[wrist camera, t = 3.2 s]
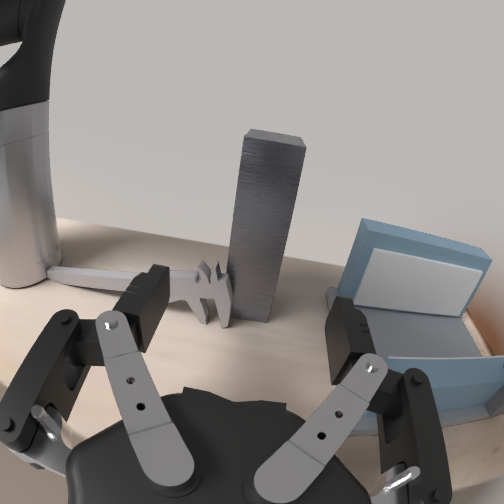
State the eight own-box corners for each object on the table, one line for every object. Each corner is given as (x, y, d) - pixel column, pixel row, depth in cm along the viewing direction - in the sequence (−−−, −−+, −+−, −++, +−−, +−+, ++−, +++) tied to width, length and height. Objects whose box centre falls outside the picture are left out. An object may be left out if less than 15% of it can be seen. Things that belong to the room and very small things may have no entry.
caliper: (229, 322, 25) (237, 263, 22) (227, 331, 24) (234, 271, 21) (47, 273, 26) (34, 221, 22) (41, 279, 25) (27, 226, 21)
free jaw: (366, 435, 15) (444, 345, 11) (358, 383, 19) (414, 287, 14) (507, 412, 15) (568, 341, 10) (492, 377, 19) (544, 306, 14)
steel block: (221, 315, 25) (244, 136, 18) (230, 282, 29) (251, 128, 22) (266, 322, 25) (306, 147, 18) (269, 288, 29) (300, 137, 22)
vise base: (345, 435, 16) (415, 352, 12) (325, 294, 30) (351, 215, 25) (498, 414, 16) (559, 346, 11) (448, 310, 30) (480, 248, 25)
